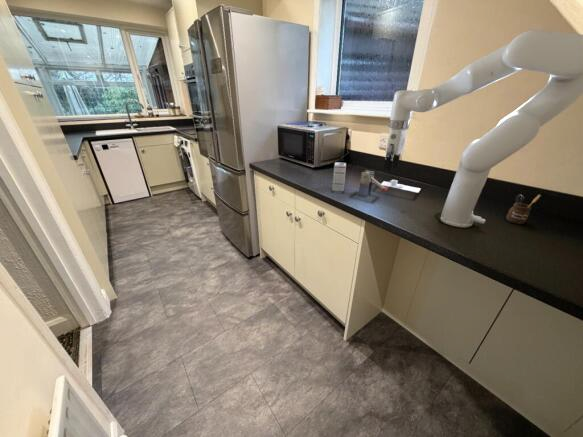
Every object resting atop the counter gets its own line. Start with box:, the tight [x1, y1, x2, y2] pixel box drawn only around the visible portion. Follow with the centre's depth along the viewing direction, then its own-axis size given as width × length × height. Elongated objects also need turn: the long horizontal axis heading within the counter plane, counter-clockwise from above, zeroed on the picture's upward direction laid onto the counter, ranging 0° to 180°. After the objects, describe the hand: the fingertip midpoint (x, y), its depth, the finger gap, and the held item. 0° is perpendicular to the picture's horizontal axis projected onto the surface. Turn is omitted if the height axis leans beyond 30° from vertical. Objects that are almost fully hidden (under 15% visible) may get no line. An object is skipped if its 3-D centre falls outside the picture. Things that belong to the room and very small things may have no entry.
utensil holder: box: [505, 194, 542, 225], centre depth 92 cm, size 6×6×12 cm
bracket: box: [357, 169, 376, 198], centre depth 112 cm, size 11×9×13 cm
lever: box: [366, 172, 389, 193], centre depth 108 cm, size 12×5×2 cm, turn 53°
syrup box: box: [332, 161, 347, 192], centre depth 118 cm, size 6×6×14 cm
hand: (390, 166), depth 102 cm, fingers open, 9 cm apart
